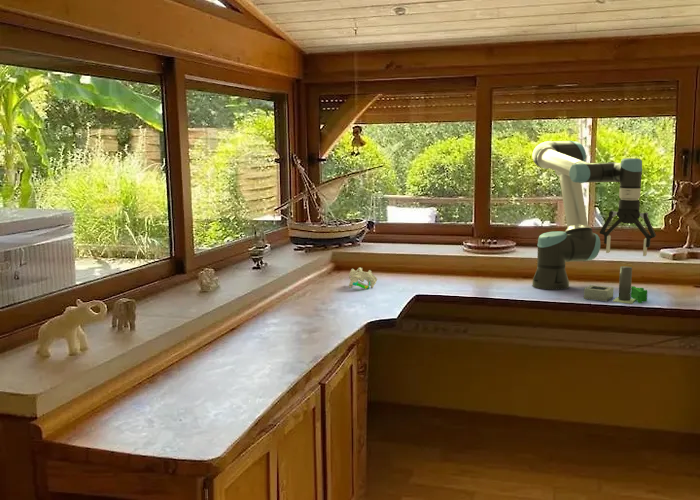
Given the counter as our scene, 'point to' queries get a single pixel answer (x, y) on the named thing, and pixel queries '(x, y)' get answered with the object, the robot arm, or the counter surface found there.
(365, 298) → the counter surface
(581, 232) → the robot arm
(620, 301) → the pad
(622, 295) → the grey rectangular bar
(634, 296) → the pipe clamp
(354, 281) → the jaw support
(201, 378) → the counter surface
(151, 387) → the counter surface
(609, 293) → the housing
